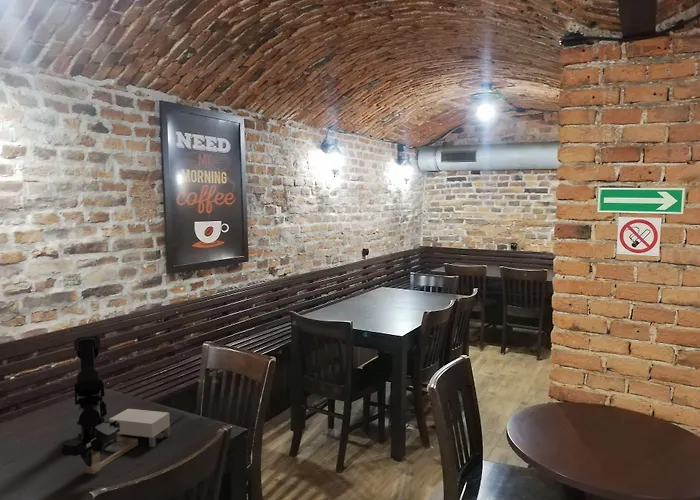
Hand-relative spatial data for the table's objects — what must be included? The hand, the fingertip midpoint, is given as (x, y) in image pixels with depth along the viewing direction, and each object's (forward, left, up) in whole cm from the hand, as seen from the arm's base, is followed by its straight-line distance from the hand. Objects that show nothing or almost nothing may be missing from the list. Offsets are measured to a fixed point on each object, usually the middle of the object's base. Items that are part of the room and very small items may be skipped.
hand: (93, 463), depth 162 cm
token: (-4, +16, -3) cm, 16 cm away
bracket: (-4, +37, -4) cm, 38 cm away
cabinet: (-1, +24, -3) cm, 24 cm away
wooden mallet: (-3, +9, -3) cm, 10 cm away
